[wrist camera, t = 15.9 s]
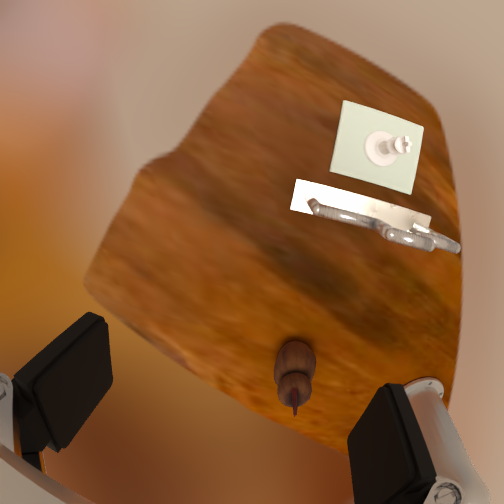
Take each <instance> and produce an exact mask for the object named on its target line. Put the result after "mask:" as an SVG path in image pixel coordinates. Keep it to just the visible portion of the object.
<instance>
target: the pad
mask: <svg viewBox="0 0 504 504" xmlns="http://www.w3.org/2000/svg"><path fill="white" fill-rule="evenodd" d="M423 129H424V127H422V126H419V125H417V124H414V123H412V122H409V121H406V120H404V119H401V118H398V117H396V116H393V115H390V114H387V113H384V112H381V111H378V110H375V109H372V108H369V107H366V106H363V105H359V104H356V103H353V102H349V101H345V100H344V101H343V103H342V109H341V114H340V120H339V125H338V130H337V136H336V141H335V146H334V151H333V155H332V160H331V165H330V170H329V171H330V172H334V173H338V174H342V175H345V176H349V177H353V178H356V179H360V180H364V181H367V182H371V183H374V184H377V185H381V186H384V187H387V188H390V189H394V190H397V191H400V192H403V193H406V194H409V195H411V192H412V188H413V183H414V179H415V174H416V169H417V164H418V159H419V153H420V148H421V142H422V135H423ZM374 131H385V132H387V133H389V134H391V135H392V136H393V137H396V138H397V137H399V136H409V141H410V142H412V146H411V149H410V152H408V153H407V154H399V155H398V156H397V158H396V160H395V161H394V162H393V163H392V164H391V165H388V166H386V167H379V166H376V165H374V164H372V163H371V162H370V161H369V160H368V159H367V158H366V156H365V153H364V148H363V146H364V141H365V139H366V137H367V136H368V135H369V134H370V133H371V132H374Z"/></svg>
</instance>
